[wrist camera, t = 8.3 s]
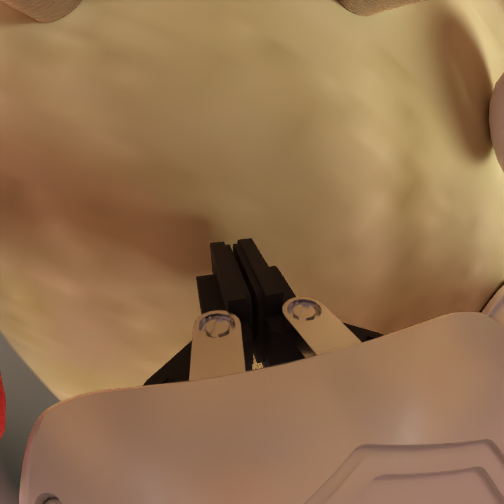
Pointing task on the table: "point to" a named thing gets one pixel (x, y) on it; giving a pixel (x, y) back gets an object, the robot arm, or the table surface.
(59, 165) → the table surface
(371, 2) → the post
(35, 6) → the post
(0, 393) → the strawberry
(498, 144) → the donut
